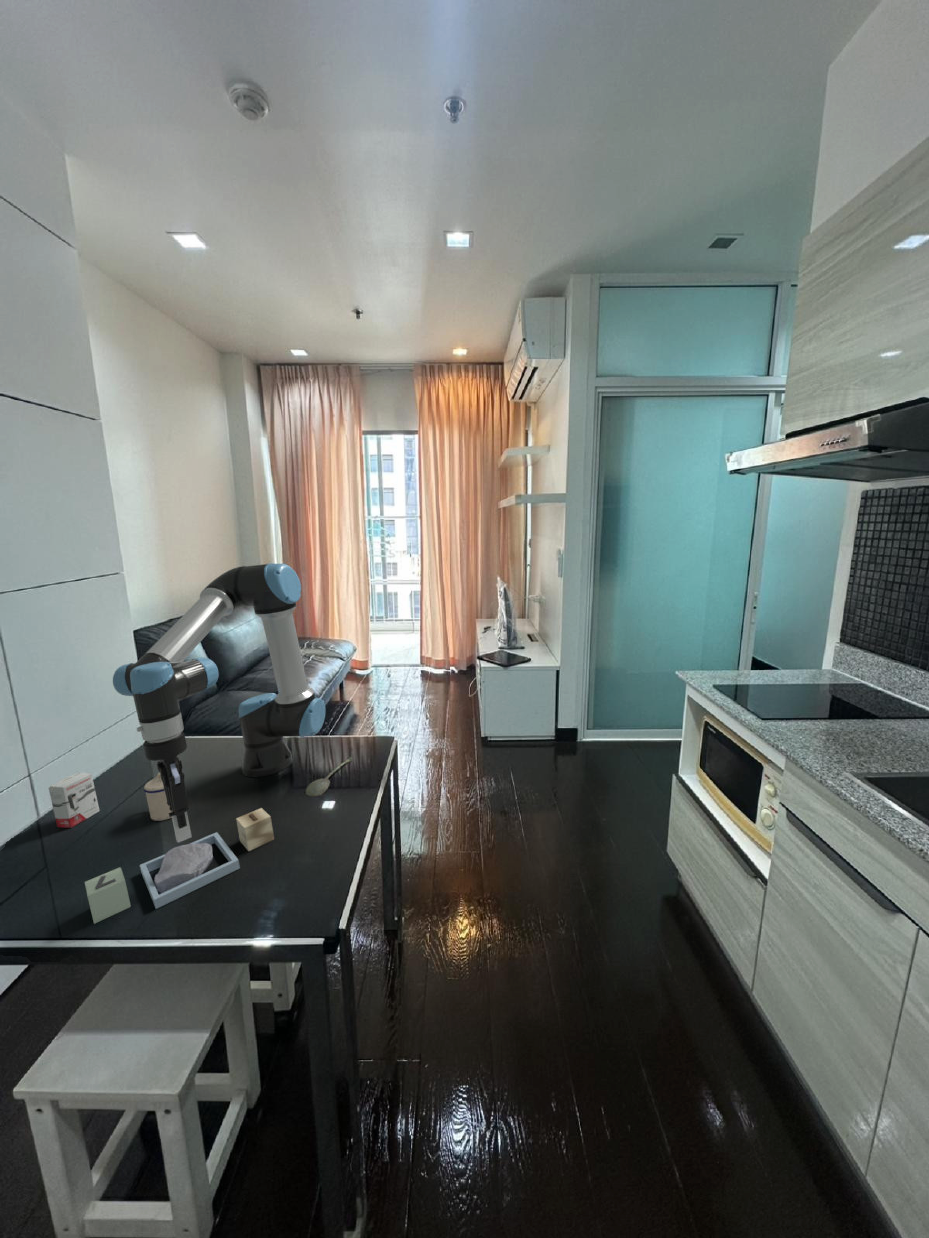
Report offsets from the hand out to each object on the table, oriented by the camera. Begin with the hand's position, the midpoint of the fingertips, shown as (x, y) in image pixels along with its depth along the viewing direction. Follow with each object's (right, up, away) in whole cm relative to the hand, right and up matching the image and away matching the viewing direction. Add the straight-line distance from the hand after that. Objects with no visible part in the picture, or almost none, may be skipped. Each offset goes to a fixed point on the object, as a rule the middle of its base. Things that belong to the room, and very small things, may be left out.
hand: (184, 838), depth 107 cm
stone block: (0, -8, +1) cm, 8 cm away
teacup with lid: (-21, -5, +29) cm, 36 cm away
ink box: (-45, -8, +29) cm, 54 cm away
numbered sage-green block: (-10, -10, -8) cm, 17 cm away
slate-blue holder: (+1, -8, +1) cm, 8 cm away
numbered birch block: (+11, -5, +11) cm, 17 cm away
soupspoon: (+21, 0, +40) cm, 45 cm away
